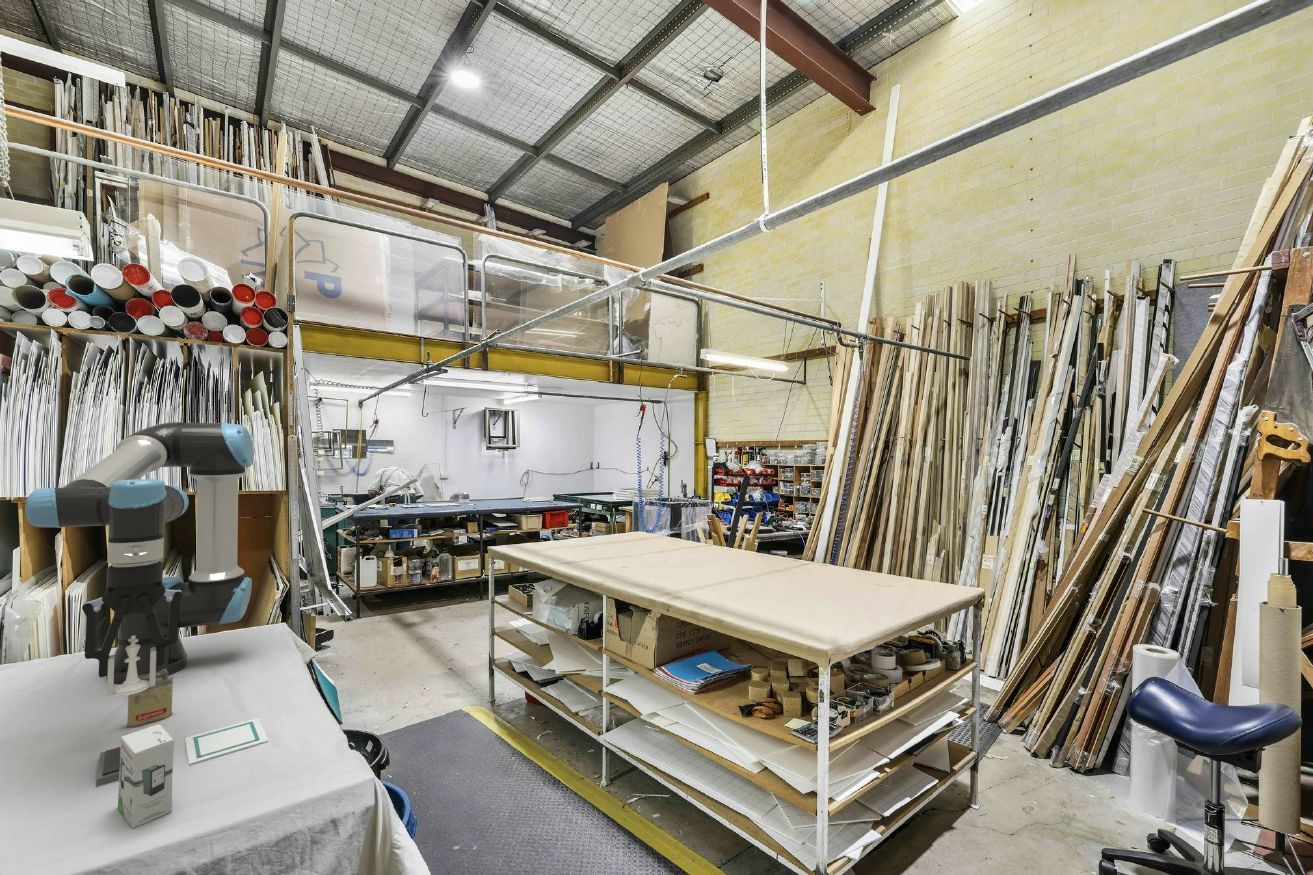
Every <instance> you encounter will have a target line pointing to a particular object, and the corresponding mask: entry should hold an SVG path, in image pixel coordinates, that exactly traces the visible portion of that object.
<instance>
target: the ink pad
mask: <svg viewBox="0 0 1313 875" xmlns="http://www.w3.org/2000/svg"><path fill="white" fill-rule="evenodd" d="M120 749H121V746H117V747H113V748H111V749H106V750H105V751H101V752H99V757H98V764H97V765H98V766H97V772H96V773H97V774H96V781H95V782H96V784H95V786H96V787H99V786H103V785H107V784H110V783H113V782H117V781H119V772H120Z"/></svg>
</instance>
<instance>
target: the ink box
mask: <svg viewBox="0 0 1313 875" xmlns="http://www.w3.org/2000/svg"><path fill="white" fill-rule="evenodd" d="M174 742H175V741H174V738H173V737H172V736H171V735H170V734H169V733H168V731H167V730H166V729H165V728H164V727H163V726H162V725H161V724H155V725H152V726H149V727H147V728H144V729H141V730H138V731H135V732H131V733H128V734H125V735H122V736H120V747H121V749H120V772H119V780H118V794H117V795H118V798H117V799H118V800H117V809H118V810H119V811H120V813H121V815H122V816H123V817H124V819H125V820H126V822H127V823H128V824H129V826H130V827H131V829H134V828H137V827H138V826H141V825H144V824H147V823H149V822H151V821H154V820H155V819H158V818H161V817H162V816H165V815H167V814H169V813H172V809H173V807H172V804H173V773H174V769H173V768H174V744H175V743H174Z"/></svg>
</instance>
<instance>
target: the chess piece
mask: <svg viewBox="0 0 1313 875" xmlns="http://www.w3.org/2000/svg"><path fill="white" fill-rule="evenodd" d="M128 642H131V645H130V646H127V647H126V648H125V649H126V651H127V654H128V656H129V658H127V659H125V661H124V662H129V666H128V672H127V677H126V681H124V682H123V683H121V684H120V685H118V686H116V687H114V688H113V695H112V696H114V697H115V696H116V697H123V696H124V697H126V696H128V695H131V694H135V693H139V692H141V691H144V690H146V689H148V688H149V687H150V685H149V682H148V680H147V681H145V680H140V679H139V678H138V674H137V667H136V661H138V660H140V657H137V656H136V655H137V653H138V650H139V649H140V645H139V644H135V642H138V639H136V636H135V635H133V636H131V639H128Z"/></svg>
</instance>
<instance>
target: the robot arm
mask: <svg viewBox="0 0 1313 875" xmlns="http://www.w3.org/2000/svg"><path fill="white" fill-rule="evenodd" d="M253 463H254V445H253V439H252V437H251V434H250V432H249V430H248V429H247V427H246V426H245V425H242V424H236V423H226V422H182V421H178V422H177V421H173V422H166V423H161V424H157V425H152V426H150V427H146V428H144V429H141V430H139V431H136V432H133V433H131V434H130V435H128V436H126V437H125V438H123V439H121V440H120V441H119V442H118V444H117V445H116V446H115V450H114V451H113V452H111V453H110V454H109V455H108V456H105V457H104V458H103V459H102V460H100V461H99V462H97V463H96V464H95V465H93V466H92V467H90V468H89V469H87V470H85V471H84V472H83V473H82V474H80V475H79V476H77V477H76V478H74V479H73V480H72V481H70V482H69V483H68V484H66V485H64V486H63V487H56V486H51V487H44V488H41V487H40V488H36V489H35V490H33V491H32V492H31V493H30V494H29V496H28V497H27V499H26V502H25V507H24V510H25V511H24V513H25V518H26V520H27V522H28V523H29V524H30V525H31V526H33V527H36V528H57V529H61V528H73V527H74V528H76V527H78V528H79V527H95V526H96V527H97V526H98V527H100V526H108V535H107V537H108V538H107V563H108V564H109V566H108V567H107V568H106V587H105V588H106V589H105V591H104V593H103V594H102V597H99V598H96V599H94V600H86V601H84V602H83V604H82V607H81V609H82V611H83V613H84V615H85V618H86V619H85V620H86V621H85V622H86V623H85V642H84V643H85V644H84V658H85V659H86V660H91V659H94V660H97V661H98V677H99V678H105V677H106V681H107V684H106V685H107V686H106V696H107V697H110V696H114V695H113V692H114V691H113V690H114V685H115V684H123V682H124V681H126V677H127V672H128V666H129V662H124V661H125V659H127V658H129V656H128V654H127V651H126V649H125V648H126V647H127V646H130V645H131V642H128V639H131V636H133V635H135V636H136V639H138V642H135V644H139V645H140V649H139V650H138V653H137V655H136V656H137V657H140V660H138V661H136V667H137V674H138V676H140V675H147V674H150V687H152V686H155V675H156V672H159V671H162V670H163V669H167V672H168V676H169V675H171V674H174V673H176V672H178V671H180V670H182V669H184V668H185V667H186V666H187V664H188V654H187V651H186V649H185V647H184V644H183V642H182V640H181V638H180V629H181V628H182V629H183V628H193V627H203V626H211V625H223V624H231V623H236V622H238V621H240V620H241V619H242V618H243V616H245V614H246V611H247V608H248V607H249V606H248V605H249V602H250V598H251V594H252V587H253V583H252V582H253V580H252V578H251V577H248V576H246V577H245V570H244V569H243V568H242V567H240V566H239V565H238V537H239V536H238V533H239V532H238V530H239V527H238V526H239V521H238V520H239V479H240V478H242V477H243V476H245V474H246V468H247V469H248V468H249V467H252V465H253ZM173 467H174V468H175V467H176V468H177V467H178V468H189V476H190V477H192V478H193V479H195V480H196V570H195V571H193V573H191V574H190V575H189V577H188V581H187V582H186V581H185V582H184V581H183V580H182V578H181V577H180V576H178V575H177V576H166V577H165V576H164V577H163V573H164V572H163V570H164V562H162V561H161V560H162V559H163V558H164V539H165V537H164V536H165V534H164V533H165V531H164V530H165V523H169V522H173V521H174V520H176V519H178V518H180V517H181V516H182V515H184V513H186V511H187V509H188V507H189V497H188V495H187V493H186V492H185V491H184V490H183V489H181V488H180V487H177V486H174V485H168V484H165V482H164V481H163V480H161V479H156V478H155V479H154V478H153V479H150V478H149V479H147V478H146V479H145V478H143V477H144V476H145V475H146V474H148V473H151V472H155V471H157V470H159V469H161V468H173ZM103 604H105V605H106V606H107V607H108V608H109V609H111V610H112V611H113V612H114V614H113V617H112V619H111V622H110V625H109V628H108V630H107V633H106V635H105V638H104V641H103V644H102V646H101V649H97V648H96V645H97V644H96V642H97V641H96V640H97V625H98V624H97V619H98V612H99V611H101V608H102V605H103ZM116 637H117V647H116V649H115V652H114V654H110V653H111V651H112V648H113V645H114V642H115V640H116ZM161 677H162V676H160V677H157V678H161ZM145 681H148V680H145Z"/></svg>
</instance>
